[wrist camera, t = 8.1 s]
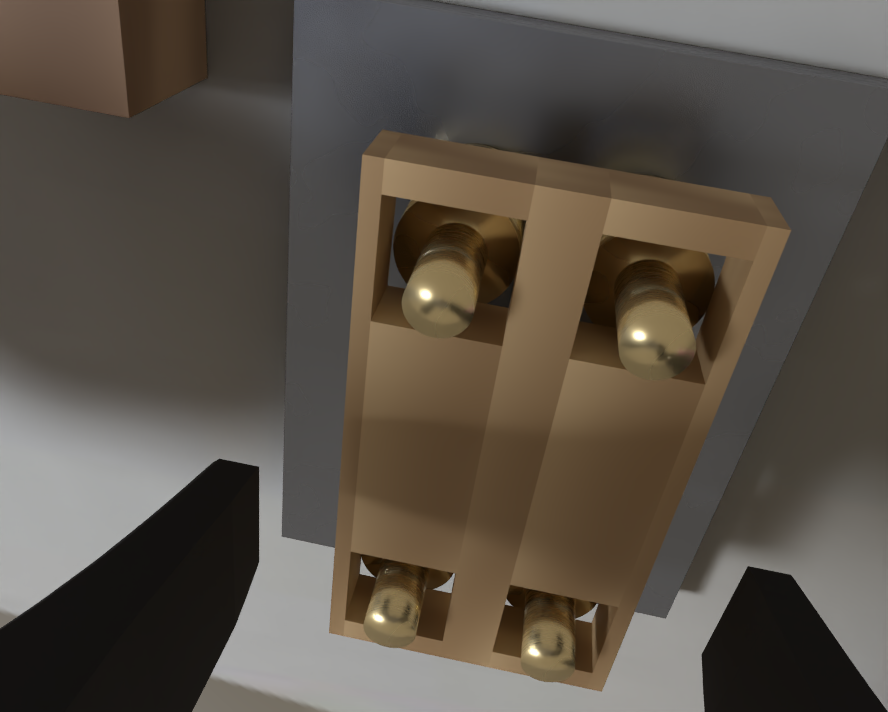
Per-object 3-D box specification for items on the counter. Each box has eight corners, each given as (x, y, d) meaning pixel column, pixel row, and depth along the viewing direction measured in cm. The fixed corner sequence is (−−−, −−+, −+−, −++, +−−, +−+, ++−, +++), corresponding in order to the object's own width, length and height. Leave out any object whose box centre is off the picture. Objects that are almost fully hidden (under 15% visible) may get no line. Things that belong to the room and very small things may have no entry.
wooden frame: (344, 586, 16) (328, 632, 15) (382, 129, 11) (362, 155, 10) (600, 640, 16) (601, 691, 15) (770, 197, 11) (791, 230, 10)
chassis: (293, 509, 20) (214, 683, 16) (312, -20, 13) (178, 27, 9) (662, 587, 20) (686, 790, 15) (886, 78, 13) (1053, 183, 8)
